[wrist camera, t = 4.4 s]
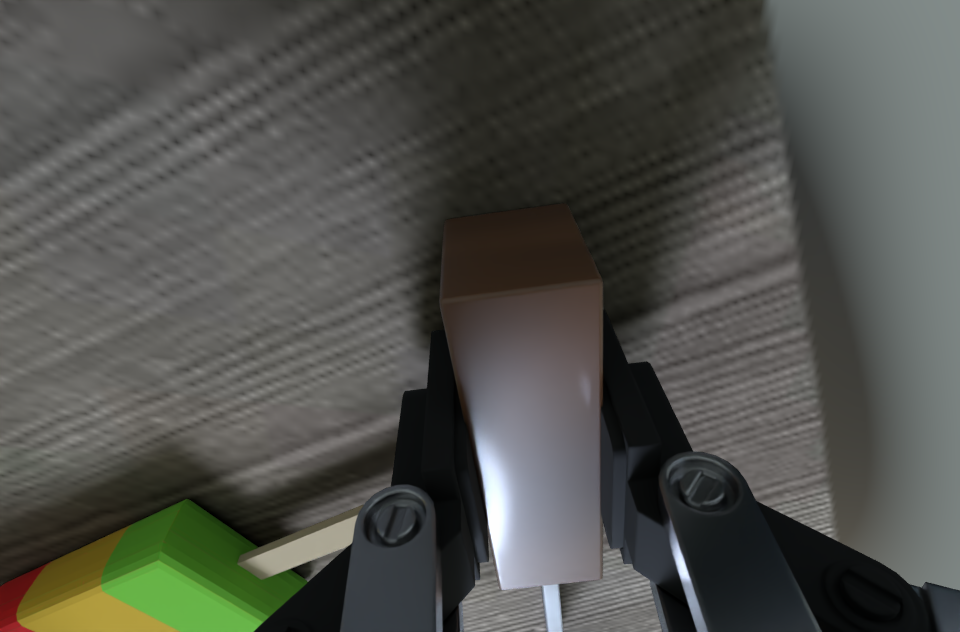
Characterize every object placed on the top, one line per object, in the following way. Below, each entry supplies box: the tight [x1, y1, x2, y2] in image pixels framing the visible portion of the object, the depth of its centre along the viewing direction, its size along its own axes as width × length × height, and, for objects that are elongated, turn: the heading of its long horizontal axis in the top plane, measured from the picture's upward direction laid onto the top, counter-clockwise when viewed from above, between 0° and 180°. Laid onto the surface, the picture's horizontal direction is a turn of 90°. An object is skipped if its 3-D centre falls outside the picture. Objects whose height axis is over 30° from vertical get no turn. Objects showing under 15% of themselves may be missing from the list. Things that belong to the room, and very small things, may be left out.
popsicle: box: [0, 499, 363, 632], centre depth 15 cm, size 6×15×2 cm, turn 119°
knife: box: [439, 203, 603, 632], centre depth 13 cm, size 17×2×3 cm, turn 8°
